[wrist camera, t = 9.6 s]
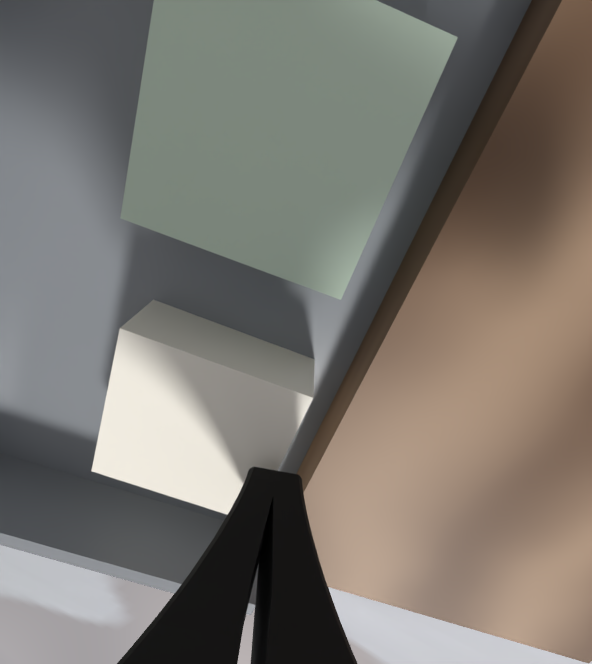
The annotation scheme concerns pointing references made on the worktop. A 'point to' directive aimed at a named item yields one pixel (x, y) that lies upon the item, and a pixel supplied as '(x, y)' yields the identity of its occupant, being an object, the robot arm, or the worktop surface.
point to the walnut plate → (481, 375)
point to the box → (157, 272)
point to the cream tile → (198, 406)
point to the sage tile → (278, 128)
